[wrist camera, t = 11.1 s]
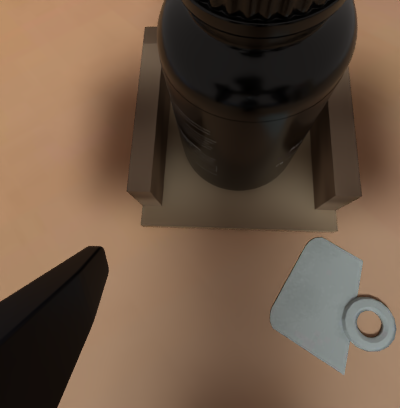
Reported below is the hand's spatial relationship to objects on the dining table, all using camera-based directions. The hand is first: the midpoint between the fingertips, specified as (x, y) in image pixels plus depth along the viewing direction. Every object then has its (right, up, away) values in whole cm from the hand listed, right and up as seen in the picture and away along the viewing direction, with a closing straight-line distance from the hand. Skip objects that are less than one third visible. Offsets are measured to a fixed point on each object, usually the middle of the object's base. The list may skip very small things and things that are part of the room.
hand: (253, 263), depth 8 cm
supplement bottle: (+1, +6, +10) cm, 11 cm away
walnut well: (+1, +6, +10) cm, 12 cm away
